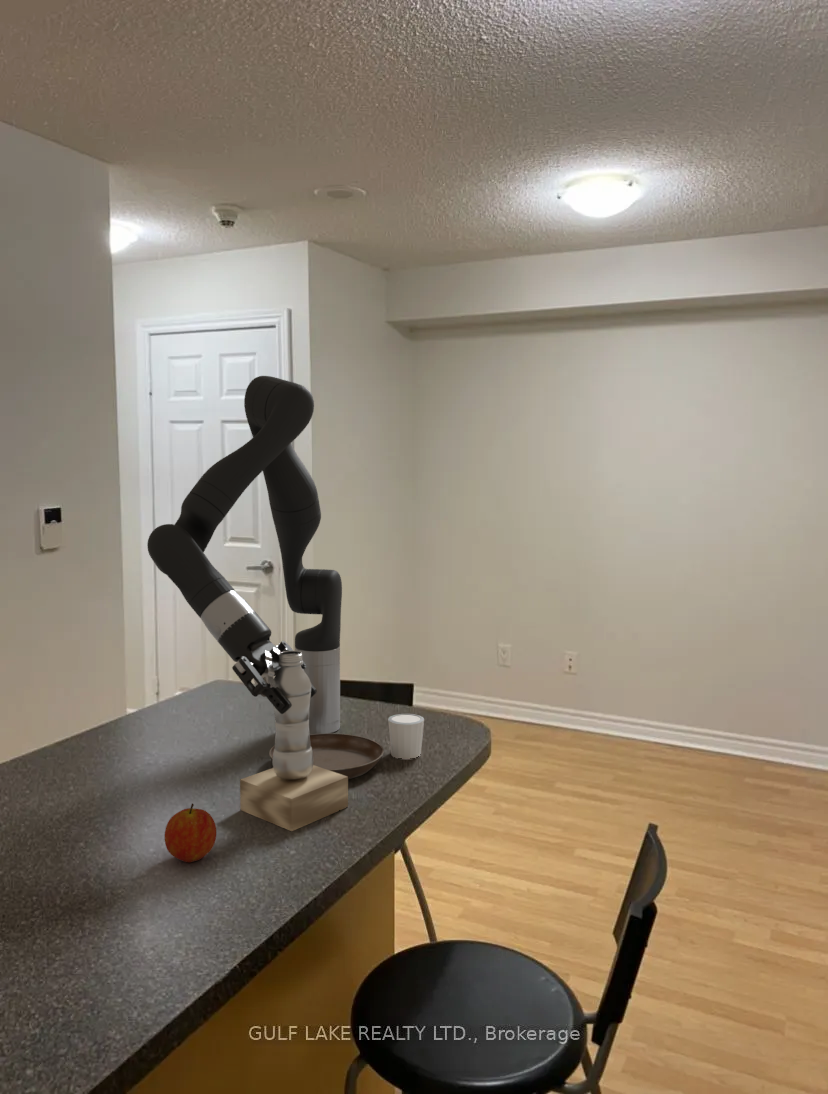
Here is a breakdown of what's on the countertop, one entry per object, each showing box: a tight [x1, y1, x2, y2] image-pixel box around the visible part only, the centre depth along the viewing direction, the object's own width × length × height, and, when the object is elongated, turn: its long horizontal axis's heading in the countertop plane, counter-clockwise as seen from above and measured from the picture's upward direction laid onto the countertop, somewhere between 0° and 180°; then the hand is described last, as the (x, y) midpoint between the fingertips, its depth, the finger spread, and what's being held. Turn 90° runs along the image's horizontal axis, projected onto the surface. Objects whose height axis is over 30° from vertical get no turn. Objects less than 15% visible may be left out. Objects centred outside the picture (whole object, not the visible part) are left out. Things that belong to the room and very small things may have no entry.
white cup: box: [387, 713, 425, 760], centre depth 160 cm, size 7×7×7 cm
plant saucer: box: [268, 732, 385, 780], centre depth 154 cm, size 21×21×3 cm
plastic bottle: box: [271, 650, 314, 780], centre depth 133 cm, size 6×7×20 cm
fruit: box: [164, 803, 218, 864], centre depth 117 cm, size 7×7×8 cm
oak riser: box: [239, 765, 349, 832], centre depth 134 cm, size 12×12×5 cm
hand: (300, 702), depth 132 cm, fingers open, 8 cm apart
